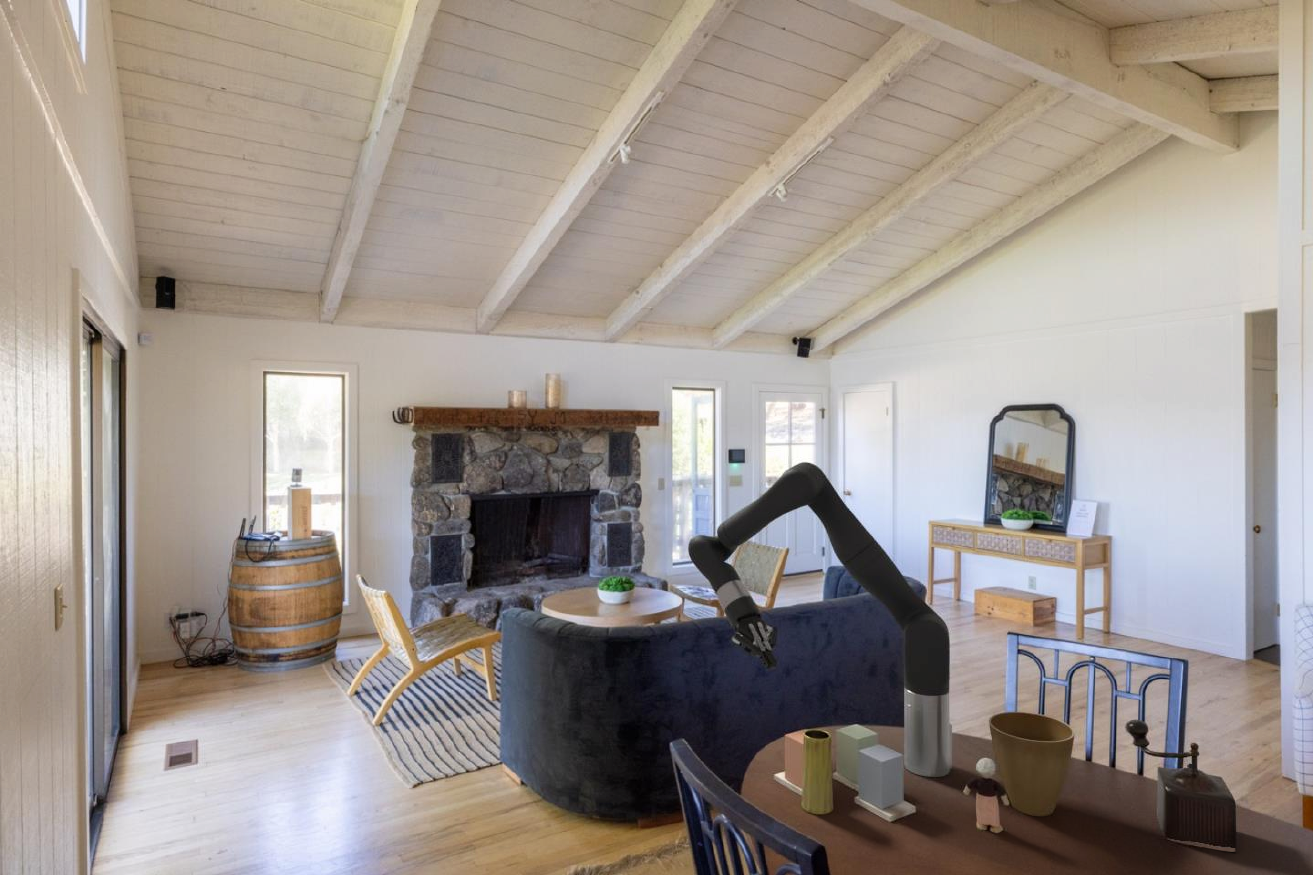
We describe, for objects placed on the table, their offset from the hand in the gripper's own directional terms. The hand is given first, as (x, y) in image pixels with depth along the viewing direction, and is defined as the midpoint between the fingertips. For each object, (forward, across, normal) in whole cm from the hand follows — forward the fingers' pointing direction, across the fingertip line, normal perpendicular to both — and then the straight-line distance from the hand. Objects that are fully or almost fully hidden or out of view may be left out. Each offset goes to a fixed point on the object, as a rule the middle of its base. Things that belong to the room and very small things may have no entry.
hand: (772, 667), depth 169 cm
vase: (+30, -8, 0) cm, 31 cm away
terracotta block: (+23, -3, +4) cm, 24 cm away
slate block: (+33, +4, -5) cm, 34 cm away
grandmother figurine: (+46, +14, -15) cm, 50 cm away
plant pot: (+46, +28, -15) cm, 56 cm away
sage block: (+26, +8, +2) cm, 27 cm away
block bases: (+29, +2, 0) cm, 29 cm away
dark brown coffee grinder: (+60, +42, -28) cm, 79 cm away
